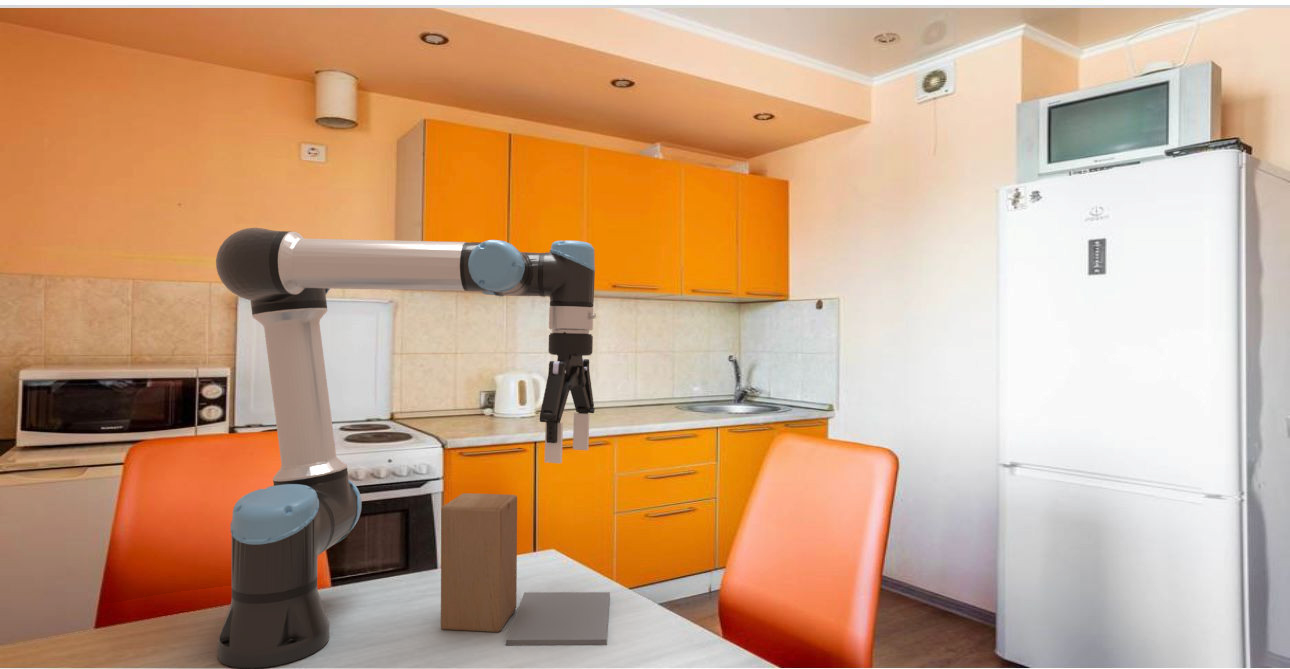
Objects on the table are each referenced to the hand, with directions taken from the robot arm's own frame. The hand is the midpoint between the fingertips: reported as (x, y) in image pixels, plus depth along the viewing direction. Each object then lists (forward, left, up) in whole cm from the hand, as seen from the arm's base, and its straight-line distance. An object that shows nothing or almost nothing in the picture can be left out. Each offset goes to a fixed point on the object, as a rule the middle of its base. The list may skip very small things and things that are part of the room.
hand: (567, 455), depth 123 cm
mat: (-1, -3, -27) cm, 27 cm away
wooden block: (-14, -3, -27) cm, 31 cm away
